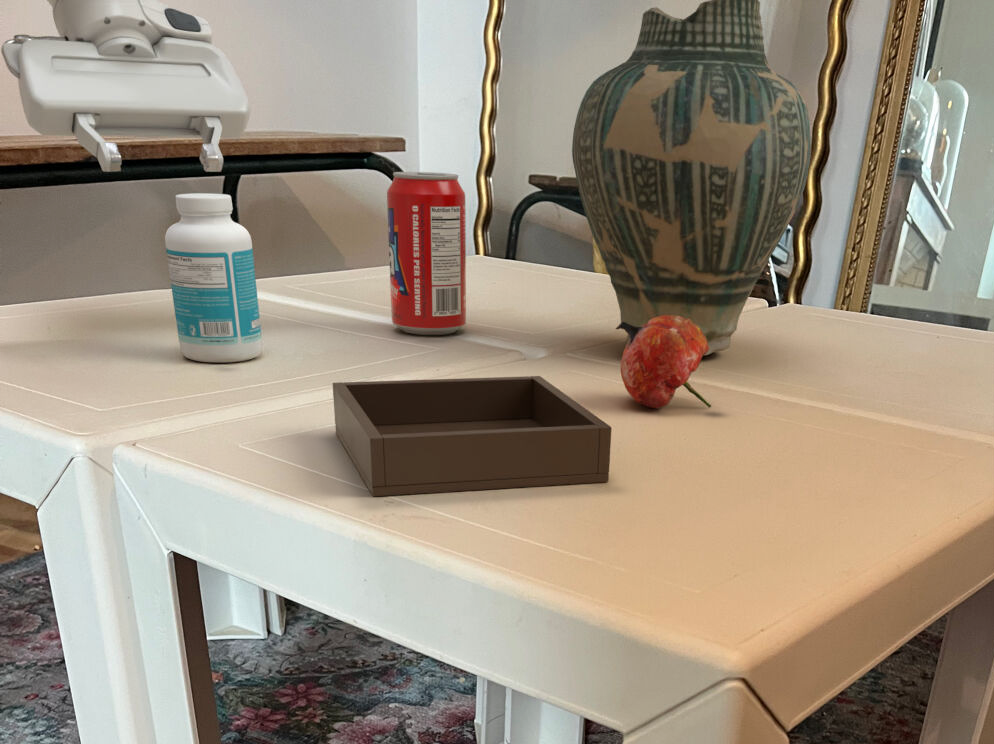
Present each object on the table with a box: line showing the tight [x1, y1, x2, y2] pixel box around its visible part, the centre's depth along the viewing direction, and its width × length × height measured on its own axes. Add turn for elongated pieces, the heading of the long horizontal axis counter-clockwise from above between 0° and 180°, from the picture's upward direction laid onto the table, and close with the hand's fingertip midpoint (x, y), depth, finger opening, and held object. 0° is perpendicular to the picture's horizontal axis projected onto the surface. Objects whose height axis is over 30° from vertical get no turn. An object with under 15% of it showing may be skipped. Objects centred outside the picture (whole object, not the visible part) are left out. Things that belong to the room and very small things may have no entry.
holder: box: [332, 375, 613, 497], centre depth 77 cm, size 16×16×4 cm
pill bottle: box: [164, 192, 263, 364], centre depth 101 cm, size 8×7×14 cm
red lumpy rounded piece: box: [615, 315, 712, 409], centre depth 92 cm, size 7×7×10 cm
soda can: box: [386, 171, 467, 336], centre depth 116 cm, size 8×8×15 cm
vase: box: [571, 0, 812, 356], centre depth 106 cm, size 22×22×30 cm
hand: (165, 166), depth 103 cm, fingers open, 8 cm apart
